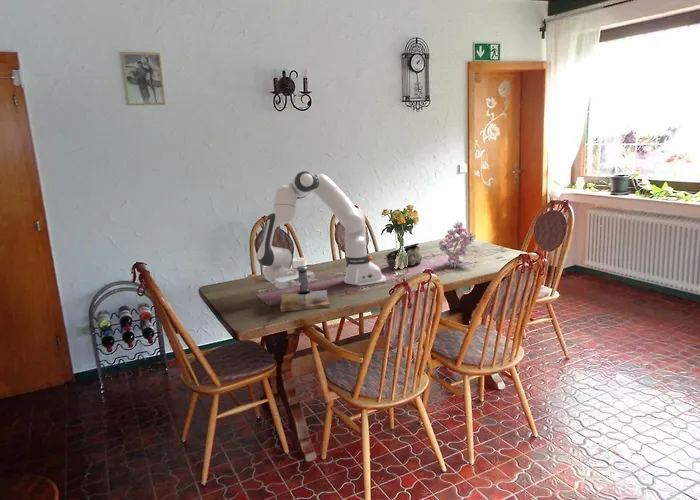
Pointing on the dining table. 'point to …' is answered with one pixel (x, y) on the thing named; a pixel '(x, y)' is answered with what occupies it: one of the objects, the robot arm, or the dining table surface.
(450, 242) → the flower
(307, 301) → the hinge leaves
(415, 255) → the hollow geode rock
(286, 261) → the robot arm
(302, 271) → the hinge pin
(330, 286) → the dining table surface
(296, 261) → the white cup
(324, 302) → the hinge base
